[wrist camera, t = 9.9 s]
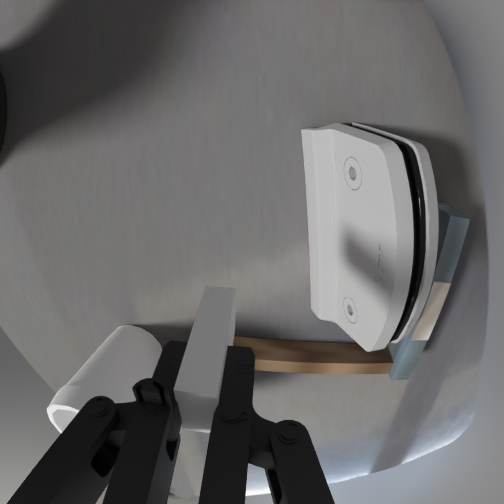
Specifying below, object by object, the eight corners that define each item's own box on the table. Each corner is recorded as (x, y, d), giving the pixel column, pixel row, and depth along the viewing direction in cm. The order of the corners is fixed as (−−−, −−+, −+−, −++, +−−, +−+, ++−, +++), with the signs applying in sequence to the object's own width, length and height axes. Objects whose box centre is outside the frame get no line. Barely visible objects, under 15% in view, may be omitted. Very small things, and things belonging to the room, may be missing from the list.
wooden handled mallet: (195, 342, 31) (186, 371, 27) (188, 177, 24) (171, 190, 20) (398, 353, 30) (408, 380, 26) (447, 203, 23) (471, 220, 19)
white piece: (300, 124, 22) (386, 129, 13) (353, 121, 22) (448, 130, 14) (311, 312, 29) (366, 384, 20) (354, 298, 29) (416, 360, 21)
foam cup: (92, 345, 33) (44, 425, 22) (113, 298, 30) (50, 388, 18) (158, 385, 35) (126, 471, 23) (190, 345, 32) (156, 449, 20)
